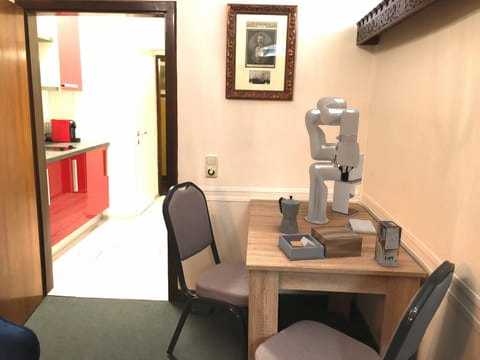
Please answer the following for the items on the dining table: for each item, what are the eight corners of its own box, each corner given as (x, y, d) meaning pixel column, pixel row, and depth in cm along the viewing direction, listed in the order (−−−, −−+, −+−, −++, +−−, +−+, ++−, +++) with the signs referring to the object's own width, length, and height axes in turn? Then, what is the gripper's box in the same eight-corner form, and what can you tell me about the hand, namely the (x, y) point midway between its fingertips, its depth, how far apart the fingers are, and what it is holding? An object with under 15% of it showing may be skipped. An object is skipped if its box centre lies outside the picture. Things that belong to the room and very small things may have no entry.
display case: (348, 217, 214) (354, 155, 207) (331, 213, 221) (336, 153, 214) (358, 213, 222) (364, 153, 215) (341, 209, 229) (346, 151, 222)
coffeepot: (305, 233, 187) (307, 197, 183) (290, 236, 182) (292, 199, 178) (284, 224, 199) (286, 190, 196) (270, 227, 194) (272, 192, 190)
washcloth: (370, 224, 205) (370, 218, 205) (377, 235, 188) (377, 229, 187) (347, 222, 207) (347, 217, 206) (352, 234, 189) (352, 228, 189)
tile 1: (301, 241, 167) (301, 246, 168) (290, 241, 167) (290, 246, 167) (304, 245, 162) (303, 251, 163) (292, 245, 162) (292, 251, 162)
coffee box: (398, 266, 152) (403, 227, 149) (382, 266, 152) (387, 227, 148) (388, 257, 161) (392, 220, 158) (373, 257, 161) (377, 220, 157)
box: (278, 245, 170) (278, 235, 169) (308, 244, 173) (308, 233, 172) (290, 260, 155) (291, 248, 154) (323, 258, 158) (324, 247, 157)
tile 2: (312, 241, 166) (308, 246, 167) (303, 236, 165) (300, 241, 165) (316, 247, 162) (313, 251, 162) (307, 241, 160) (304, 246, 160)
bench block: (310, 244, 173) (311, 227, 172) (342, 242, 177) (344, 225, 175) (325, 258, 158) (326, 239, 156) (360, 256, 161) (362, 237, 160)
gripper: (335, 140, 159) (332, 183, 163) (368, 140, 162) (364, 182, 166) (327, 138, 166) (324, 179, 170) (359, 138, 170) (355, 179, 173)
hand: (344, 181), depth 168 cm, fingers closed
